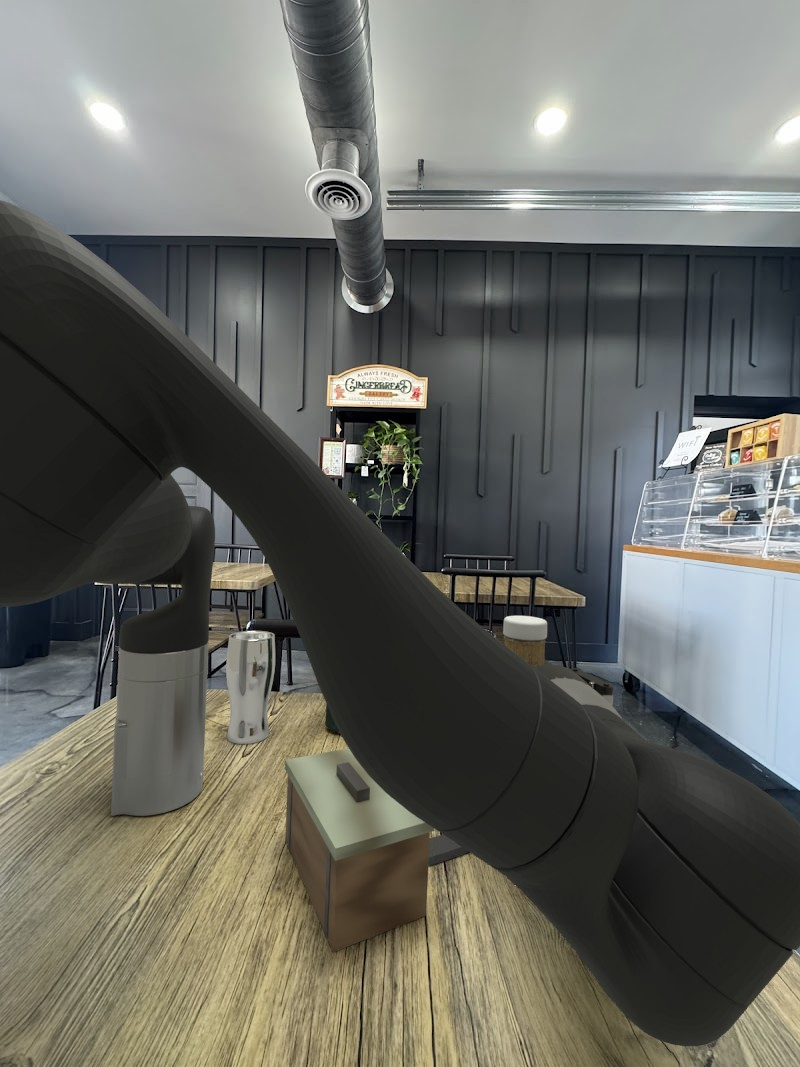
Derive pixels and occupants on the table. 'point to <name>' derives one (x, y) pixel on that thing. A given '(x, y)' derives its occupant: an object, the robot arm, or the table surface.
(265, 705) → the beer glass
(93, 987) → the table surface
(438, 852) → the square frame with handle
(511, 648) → the sprinkles bottle
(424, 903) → the toolbox
